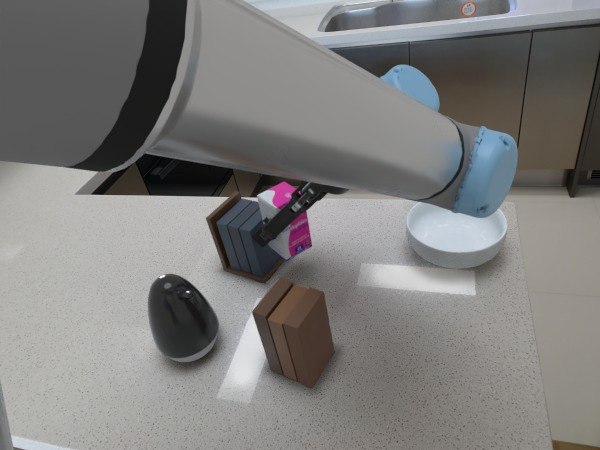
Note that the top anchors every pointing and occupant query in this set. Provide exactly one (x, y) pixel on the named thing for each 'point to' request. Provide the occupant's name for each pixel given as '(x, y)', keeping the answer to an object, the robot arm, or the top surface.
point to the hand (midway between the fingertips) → (271, 227)
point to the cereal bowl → (454, 236)
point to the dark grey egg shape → (181, 319)
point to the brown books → (295, 331)
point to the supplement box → (296, 233)
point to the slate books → (241, 239)
